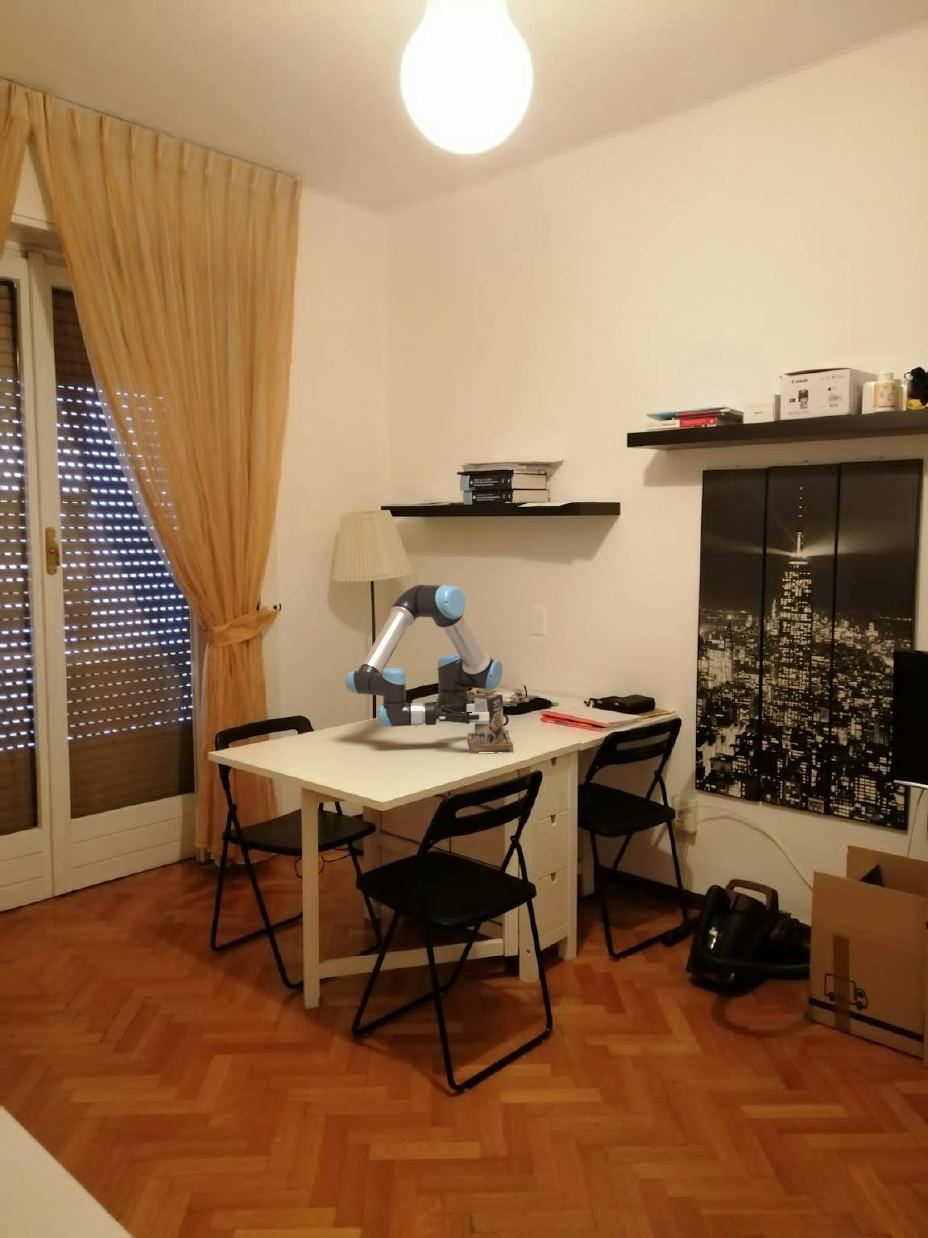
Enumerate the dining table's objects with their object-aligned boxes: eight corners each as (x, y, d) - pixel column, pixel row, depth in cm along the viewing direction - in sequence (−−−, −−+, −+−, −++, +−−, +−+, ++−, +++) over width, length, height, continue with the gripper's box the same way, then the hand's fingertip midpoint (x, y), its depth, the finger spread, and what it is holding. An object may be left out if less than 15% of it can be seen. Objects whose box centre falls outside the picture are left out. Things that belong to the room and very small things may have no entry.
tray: (467, 740, 315) (467, 733, 315) (507, 739, 316) (507, 731, 316) (470, 754, 297) (470, 746, 297) (513, 752, 298) (513, 744, 298)
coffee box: (491, 746, 301) (490, 699, 299) (474, 744, 305) (473, 697, 303) (504, 740, 309) (503, 694, 307) (487, 738, 312) (486, 692, 311)
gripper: (423, 716, 317) (484, 714, 318) (425, 733, 292) (490, 731, 293) (423, 695, 316) (483, 693, 317) (424, 710, 291) (490, 708, 292)
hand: (487, 711), depth 305 cm, fingers open, 13 cm apart
